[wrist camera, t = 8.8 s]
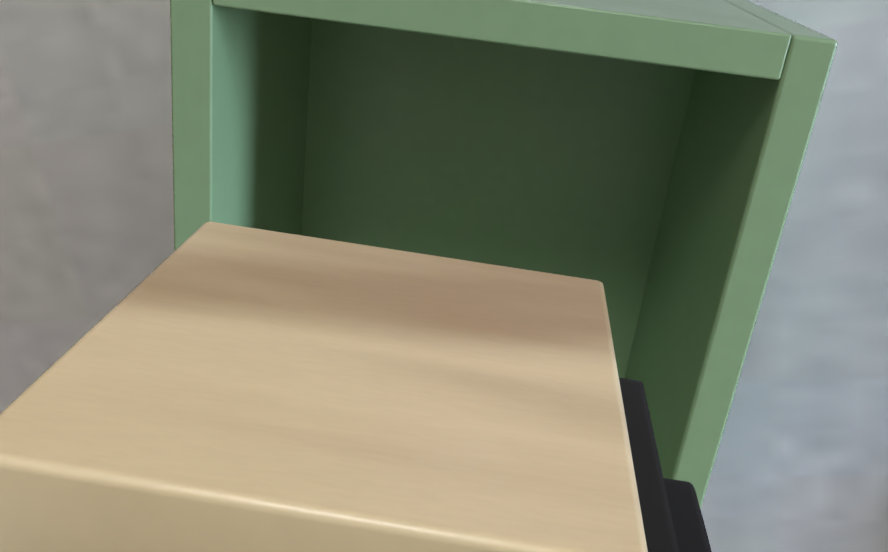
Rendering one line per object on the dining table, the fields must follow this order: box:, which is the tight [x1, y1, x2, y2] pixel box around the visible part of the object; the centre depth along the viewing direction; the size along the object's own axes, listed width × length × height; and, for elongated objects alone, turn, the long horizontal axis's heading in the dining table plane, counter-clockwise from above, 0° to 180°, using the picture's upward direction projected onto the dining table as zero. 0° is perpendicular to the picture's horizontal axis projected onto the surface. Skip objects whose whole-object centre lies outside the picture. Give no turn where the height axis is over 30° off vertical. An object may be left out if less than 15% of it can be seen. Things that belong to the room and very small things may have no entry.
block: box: [0, 222, 648, 552], centre depth 10 cm, size 5×5×5 cm
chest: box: [170, 0, 837, 509], centre depth 24 cm, size 17×13×9 cm
